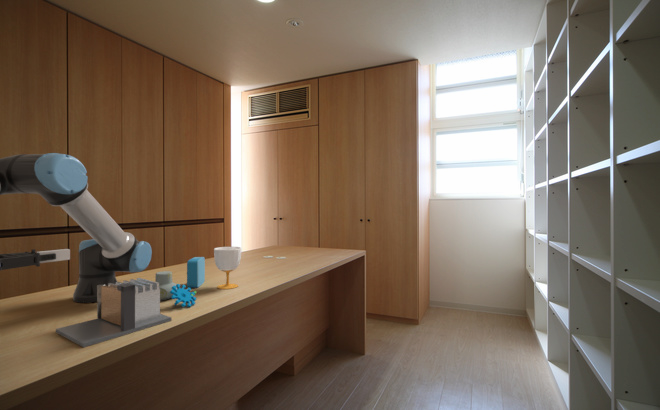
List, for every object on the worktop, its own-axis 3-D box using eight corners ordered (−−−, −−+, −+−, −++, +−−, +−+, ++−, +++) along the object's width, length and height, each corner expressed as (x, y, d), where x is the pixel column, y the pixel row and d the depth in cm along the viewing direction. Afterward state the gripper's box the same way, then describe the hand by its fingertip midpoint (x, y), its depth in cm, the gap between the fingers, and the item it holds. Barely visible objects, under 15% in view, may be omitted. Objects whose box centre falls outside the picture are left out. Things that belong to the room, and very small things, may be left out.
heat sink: (106, 319, 105) (107, 283, 105) (139, 310, 114) (139, 277, 114) (126, 326, 99) (126, 289, 99) (159, 317, 107) (160, 282, 107)
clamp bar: (95, 317, 105) (95, 285, 105) (103, 315, 107) (103, 283, 107) (122, 327, 97) (122, 292, 97) (130, 325, 99) (130, 290, 99)
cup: (246, 285, 154) (246, 247, 154) (229, 291, 143) (229, 250, 143) (226, 282, 158) (226, 246, 158) (207, 288, 148) (207, 249, 148)
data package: (194, 282, 159) (194, 256, 159) (204, 282, 160) (204, 256, 159) (186, 288, 147) (186, 261, 147) (197, 288, 148) (197, 260, 148)
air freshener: (143, 301, 128) (144, 274, 128) (156, 295, 137) (156, 270, 137) (172, 301, 128) (172, 275, 128) (182, 295, 136) (182, 270, 136)
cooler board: (55, 332, 97) (55, 285, 97) (141, 310, 117) (141, 271, 117) (83, 347, 87) (83, 294, 87) (171, 320, 107) (171, 277, 107)
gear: (180, 306, 116) (167, 283, 120) (169, 317, 117) (157, 294, 121) (204, 302, 126) (192, 281, 130) (194, 312, 127) (182, 291, 131)
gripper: (-72, 282, 75) (58, 265, 95) (-59, 291, 68) (79, 271, 87) (-72, 248, 75) (58, 238, 94) (-60, 253, 67) (79, 241, 87)
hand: (68, 254), depth 91 cm, fingers closed
